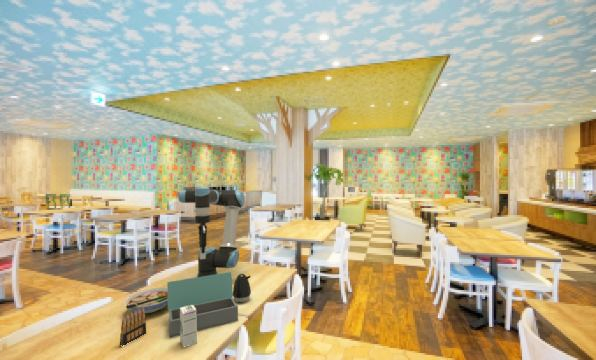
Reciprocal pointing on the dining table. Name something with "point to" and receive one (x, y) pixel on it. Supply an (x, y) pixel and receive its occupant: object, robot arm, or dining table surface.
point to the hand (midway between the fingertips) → (202, 258)
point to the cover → (199, 290)
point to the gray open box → (207, 315)
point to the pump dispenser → (241, 288)
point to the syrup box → (188, 325)
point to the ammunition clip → (133, 327)
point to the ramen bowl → (148, 300)
